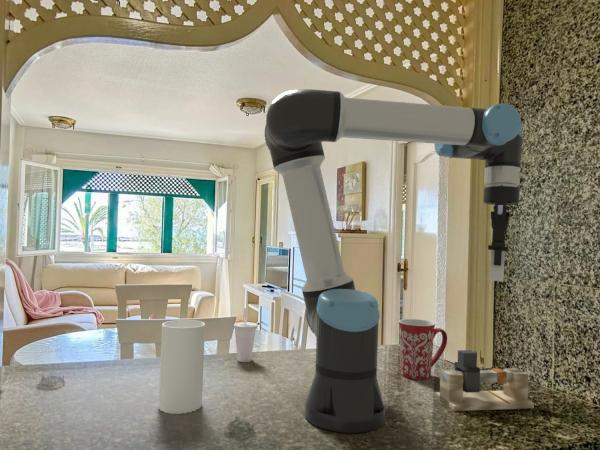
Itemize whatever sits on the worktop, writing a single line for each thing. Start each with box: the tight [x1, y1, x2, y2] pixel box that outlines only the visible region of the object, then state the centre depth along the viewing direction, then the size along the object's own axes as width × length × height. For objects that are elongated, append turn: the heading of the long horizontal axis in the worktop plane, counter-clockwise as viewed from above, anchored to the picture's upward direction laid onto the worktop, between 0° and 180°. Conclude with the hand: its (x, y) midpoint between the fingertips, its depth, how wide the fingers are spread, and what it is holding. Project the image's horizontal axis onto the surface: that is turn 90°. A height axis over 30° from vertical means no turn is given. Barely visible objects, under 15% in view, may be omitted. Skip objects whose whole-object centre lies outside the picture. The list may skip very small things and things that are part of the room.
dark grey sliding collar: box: [453, 349, 481, 392], centre depth 95 cm, size 3×5×8 cm, turn 10°
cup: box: [158, 319, 206, 415], centre depth 88 cm, size 8×8×16 cm
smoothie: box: [233, 307, 258, 363], centre depth 122 cm, size 6×6×14 cm
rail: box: [434, 367, 535, 412], centre depth 96 cm, size 18×8×7 cm, turn 100°
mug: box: [398, 318, 448, 381], centre depth 114 cm, size 13×9×14 cm
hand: (497, 279), depth 103 cm, fingers open, 13 cm apart
